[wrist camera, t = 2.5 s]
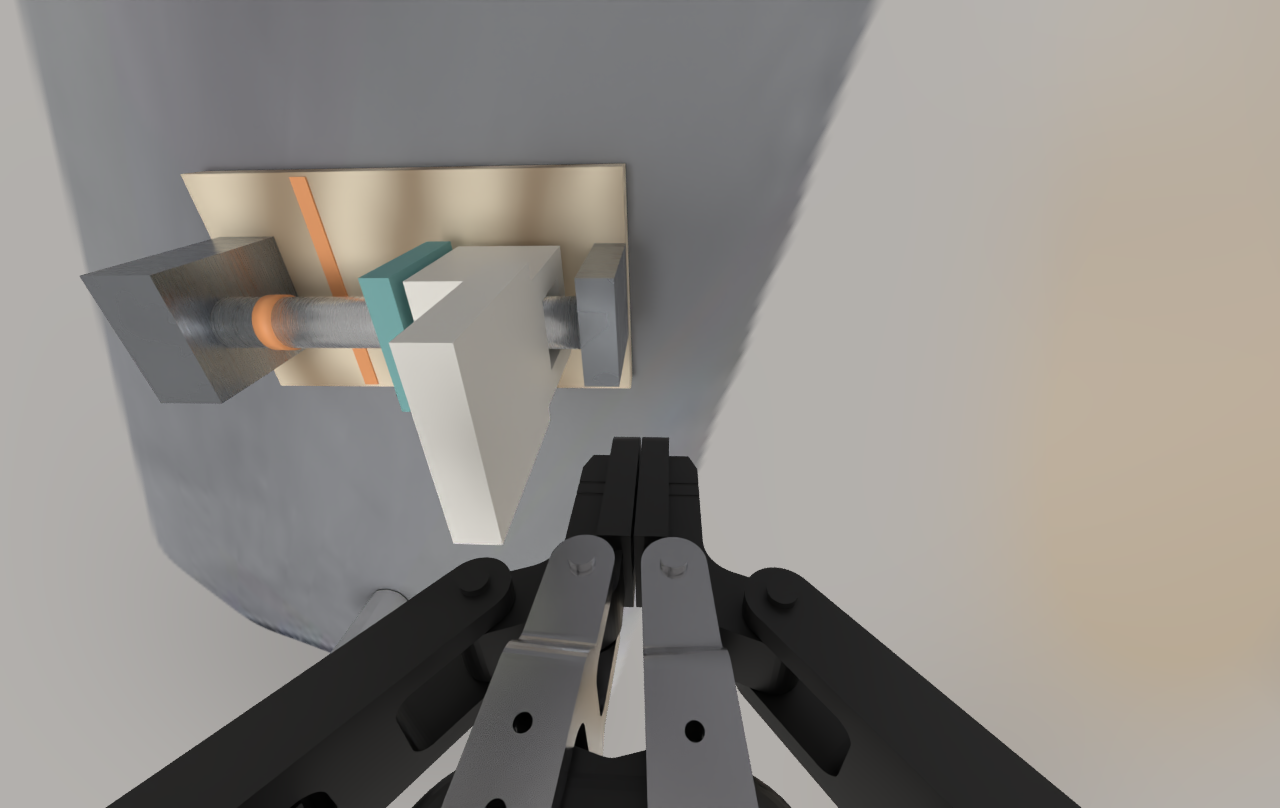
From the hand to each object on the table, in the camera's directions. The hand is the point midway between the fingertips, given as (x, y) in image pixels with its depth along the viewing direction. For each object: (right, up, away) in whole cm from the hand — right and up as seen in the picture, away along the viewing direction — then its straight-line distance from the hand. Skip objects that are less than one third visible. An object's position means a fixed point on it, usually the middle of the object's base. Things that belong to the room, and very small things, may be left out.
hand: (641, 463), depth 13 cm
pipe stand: (-12, +9, +14) cm, 20 cm away
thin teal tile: (-10, +7, +12) cm, 17 cm away
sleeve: (-6, +7, +11) cm, 15 cm away
